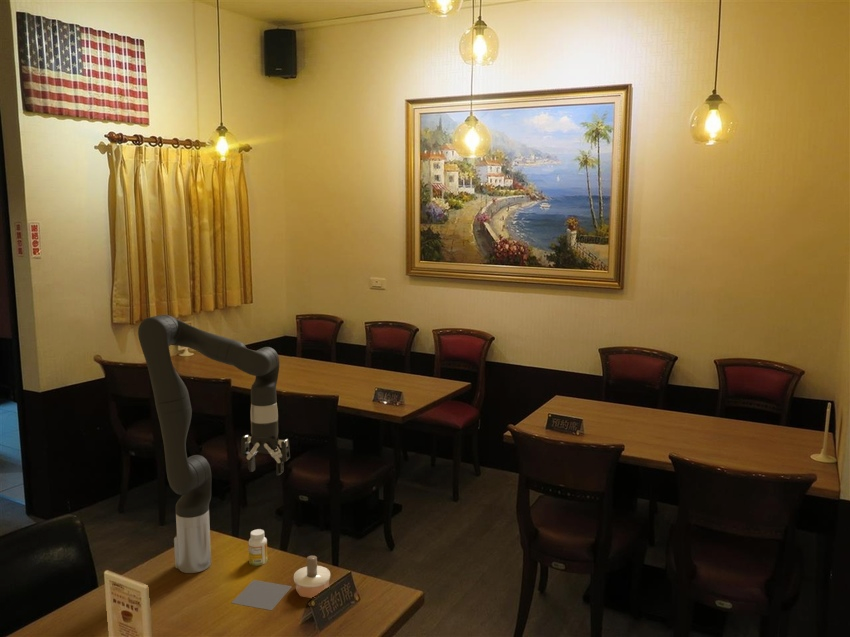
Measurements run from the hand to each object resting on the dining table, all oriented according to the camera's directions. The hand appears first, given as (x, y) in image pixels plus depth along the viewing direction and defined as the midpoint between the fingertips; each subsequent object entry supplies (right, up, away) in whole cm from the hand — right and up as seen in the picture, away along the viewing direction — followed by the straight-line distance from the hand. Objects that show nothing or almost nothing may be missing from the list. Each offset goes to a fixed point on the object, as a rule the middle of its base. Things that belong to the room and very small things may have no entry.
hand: (265, 472), depth 199 cm
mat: (+1, -32, -9) cm, 33 cm away
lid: (+14, -28, -6) cm, 32 cm away
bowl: (+14, -32, -6) cm, 35 cm away
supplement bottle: (-4, -29, +9) cm, 31 cm away
